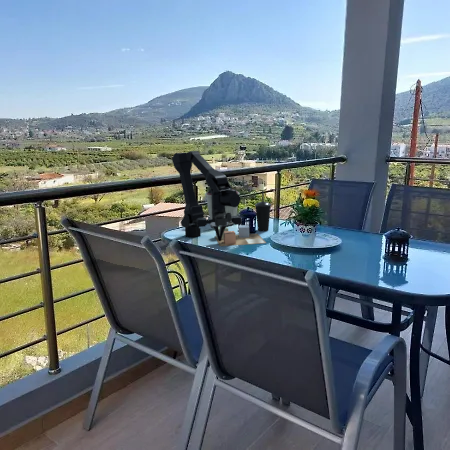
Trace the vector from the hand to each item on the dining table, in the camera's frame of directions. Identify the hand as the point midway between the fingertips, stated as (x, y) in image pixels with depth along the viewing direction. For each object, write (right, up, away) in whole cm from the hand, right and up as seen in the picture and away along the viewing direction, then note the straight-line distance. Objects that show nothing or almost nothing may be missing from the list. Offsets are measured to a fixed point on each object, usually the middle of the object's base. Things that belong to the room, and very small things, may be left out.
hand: (219, 240), depth 172 cm
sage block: (+1, +1, +10) cm, 10 cm away
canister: (+1, +7, +43) cm, 43 cm away
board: (+9, -1, +6) cm, 10 cm away
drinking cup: (+21, +3, +21) cm, 30 cm away
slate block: (+11, +2, +11) cm, 16 cm away
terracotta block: (+4, -1, +1) cm, 4 cm away
